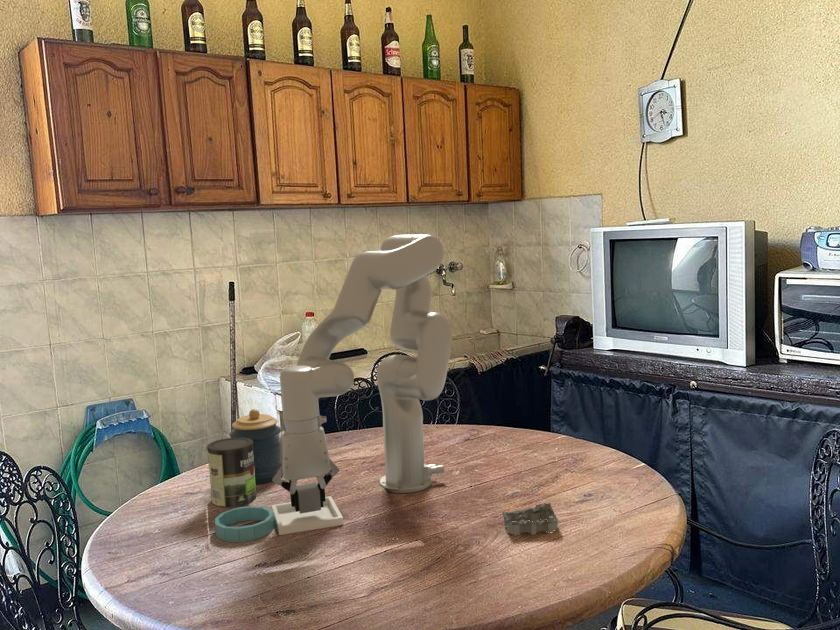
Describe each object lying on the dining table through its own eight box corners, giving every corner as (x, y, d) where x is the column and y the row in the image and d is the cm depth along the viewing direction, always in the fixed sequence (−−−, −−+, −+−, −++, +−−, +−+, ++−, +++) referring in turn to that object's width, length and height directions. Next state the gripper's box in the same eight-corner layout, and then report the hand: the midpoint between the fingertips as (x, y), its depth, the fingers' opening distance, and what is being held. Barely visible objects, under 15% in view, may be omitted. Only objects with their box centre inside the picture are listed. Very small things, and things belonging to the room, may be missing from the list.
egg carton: (553, 520, 152) (552, 502, 151) (560, 536, 144) (559, 516, 144) (501, 522, 152) (501, 503, 151) (506, 537, 144) (506, 517, 144)
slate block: (317, 502, 158) (315, 482, 158) (321, 510, 154) (319, 489, 154) (296, 506, 157) (295, 486, 156) (299, 513, 153) (298, 493, 152)
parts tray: (331, 505, 164) (330, 496, 163) (343, 528, 151) (343, 517, 151) (272, 515, 160) (271, 504, 159) (279, 538, 147) (279, 527, 147)
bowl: (270, 518, 158) (269, 503, 157) (276, 539, 147) (275, 522, 146) (215, 527, 154) (214, 511, 154) (217, 549, 143) (216, 532, 143)
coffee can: (264, 495, 172) (260, 437, 171) (245, 511, 162) (241, 450, 161) (224, 493, 174) (219, 436, 173) (203, 510, 164) (198, 449, 163)
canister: (259, 488, 177) (254, 418, 175) (221, 480, 183) (216, 412, 181) (294, 472, 188) (290, 405, 185) (258, 465, 194) (253, 401, 192)
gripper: (337, 415, 159) (343, 494, 162) (259, 425, 154) (267, 507, 157) (345, 423, 152) (351, 506, 155) (263, 435, 147) (270, 521, 149)
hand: (308, 506), depth 156 cm, fingers closed on slate block, 4 cm apart
